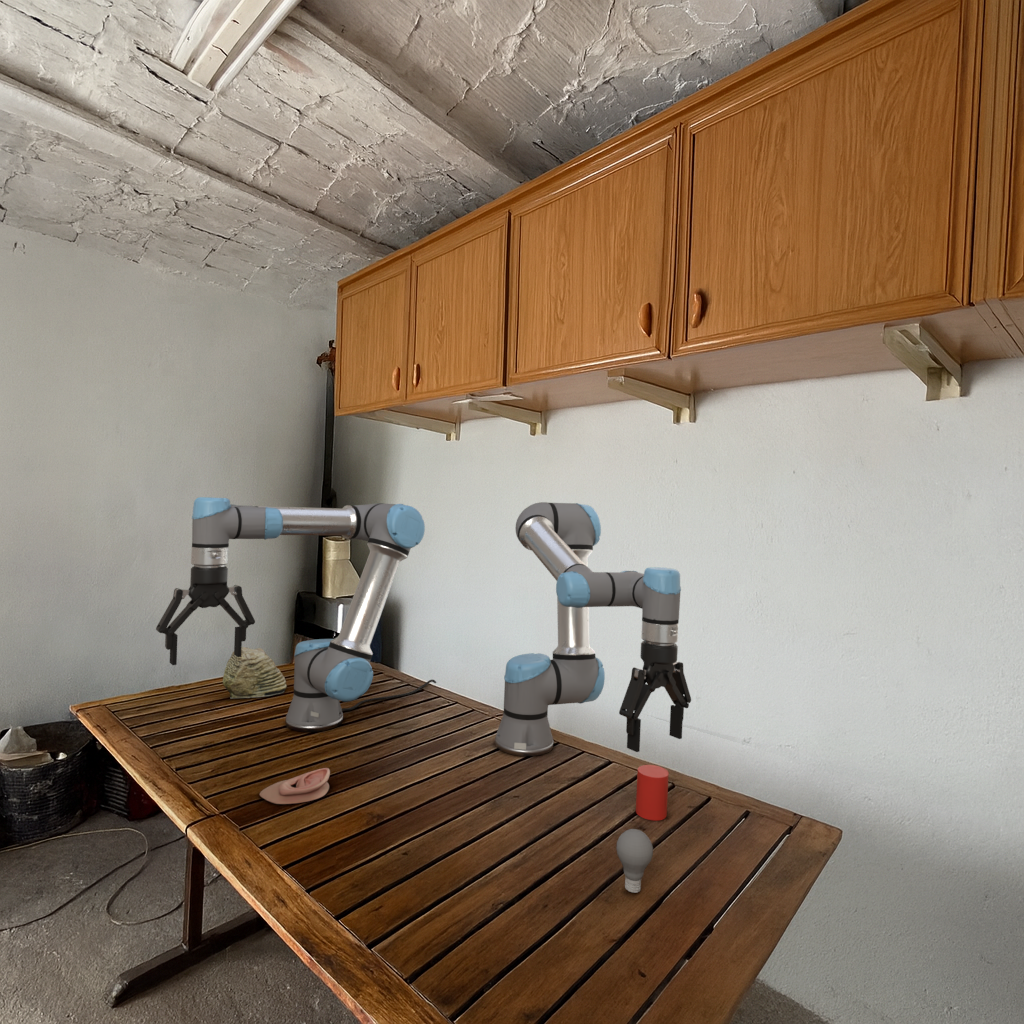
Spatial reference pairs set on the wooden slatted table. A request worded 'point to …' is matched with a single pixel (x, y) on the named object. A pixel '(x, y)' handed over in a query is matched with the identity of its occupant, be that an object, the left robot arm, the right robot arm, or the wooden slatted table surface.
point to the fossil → (253, 675)
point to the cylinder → (652, 792)
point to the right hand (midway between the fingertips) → (655, 743)
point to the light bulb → (634, 857)
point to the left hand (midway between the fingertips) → (206, 659)
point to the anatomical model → (298, 788)
